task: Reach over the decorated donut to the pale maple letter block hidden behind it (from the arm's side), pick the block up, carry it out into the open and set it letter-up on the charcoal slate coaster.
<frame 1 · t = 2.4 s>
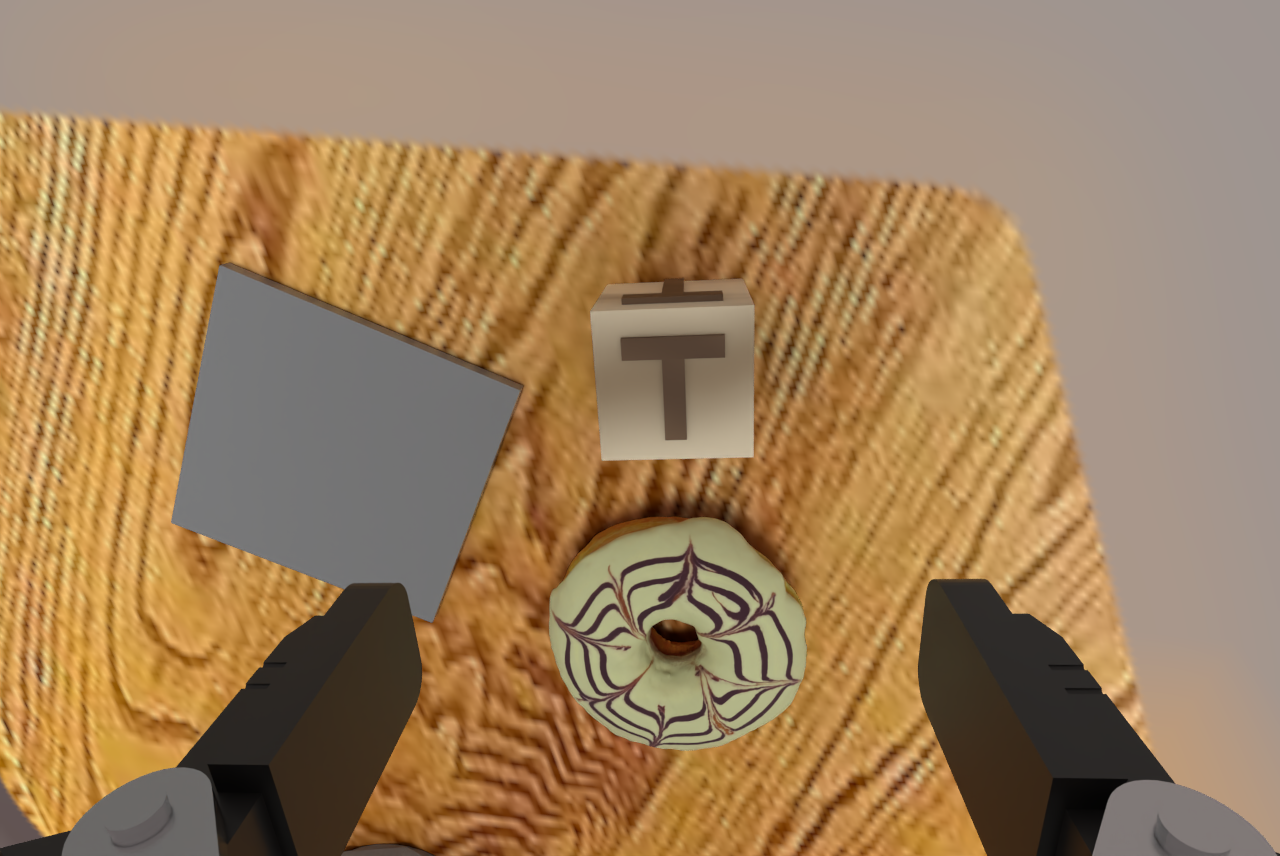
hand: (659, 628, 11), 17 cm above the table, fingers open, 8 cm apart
letter block: (676, 346, 27), on the table
slate coaster: (342, 454, 29), on the table
decorated donut: (677, 603, 32), on the table
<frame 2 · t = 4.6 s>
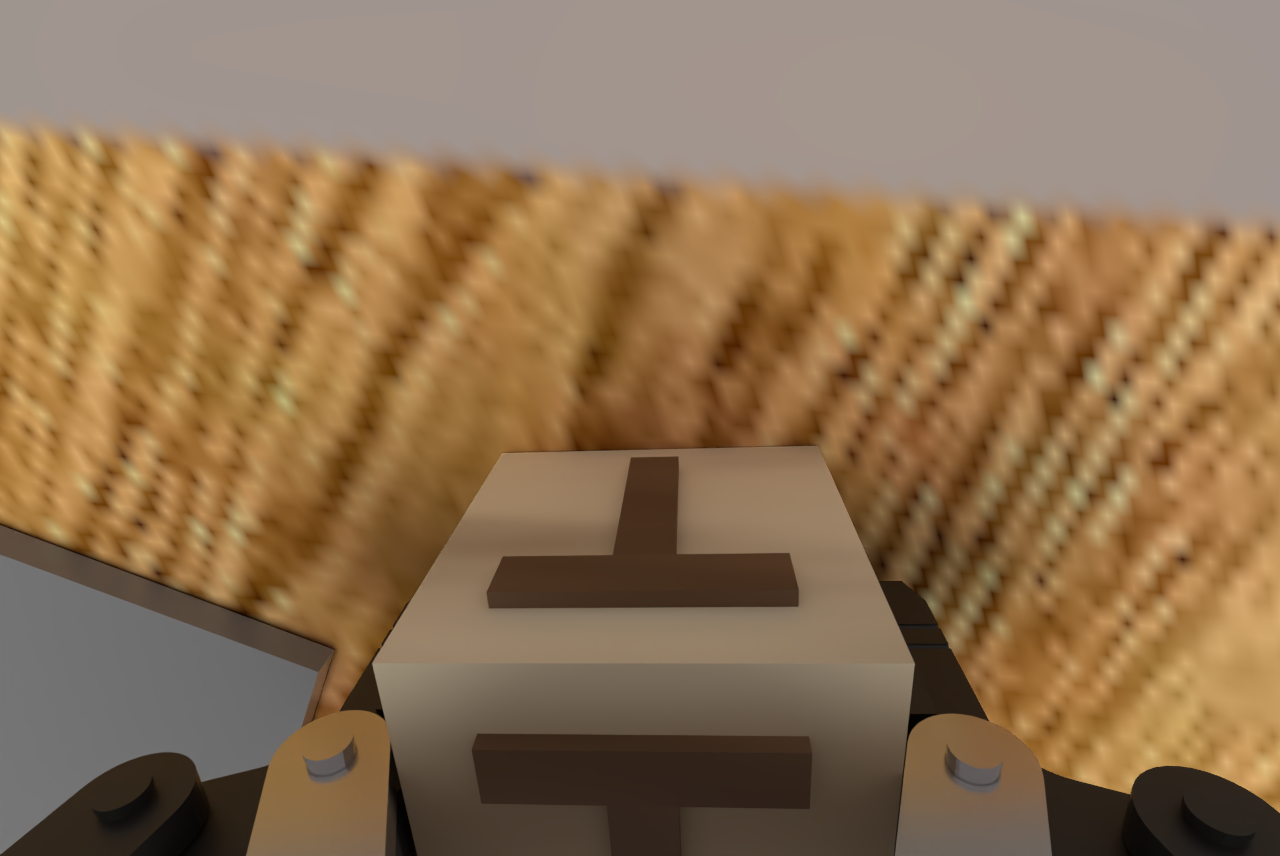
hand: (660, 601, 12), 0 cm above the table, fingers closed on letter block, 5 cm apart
letter block: (663, 583, 12), on the table, touching gripper
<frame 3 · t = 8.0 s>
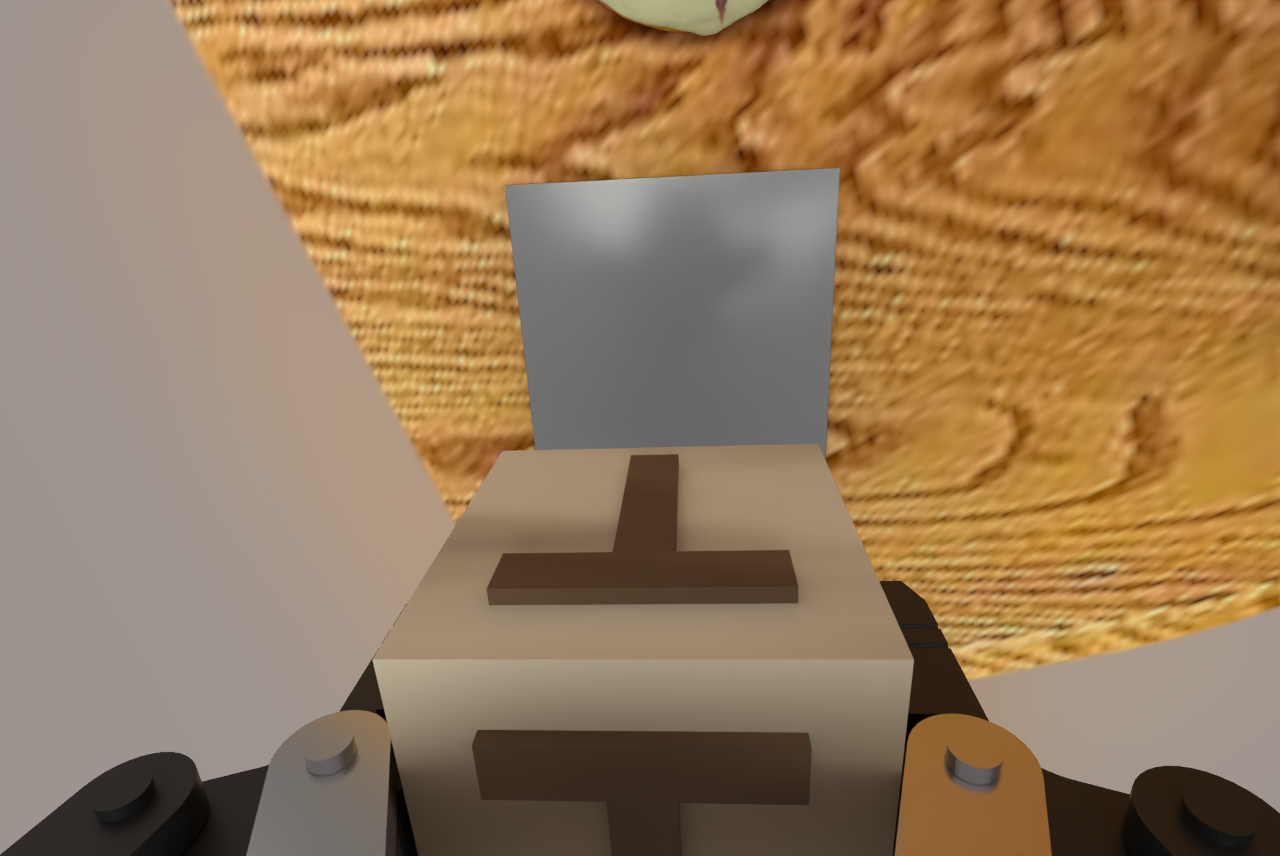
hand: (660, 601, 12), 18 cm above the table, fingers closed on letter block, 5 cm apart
letter block: (663, 581, 12), point 17 cm above the table, touching gripper
slate coaster: (675, 336, 28), on the table
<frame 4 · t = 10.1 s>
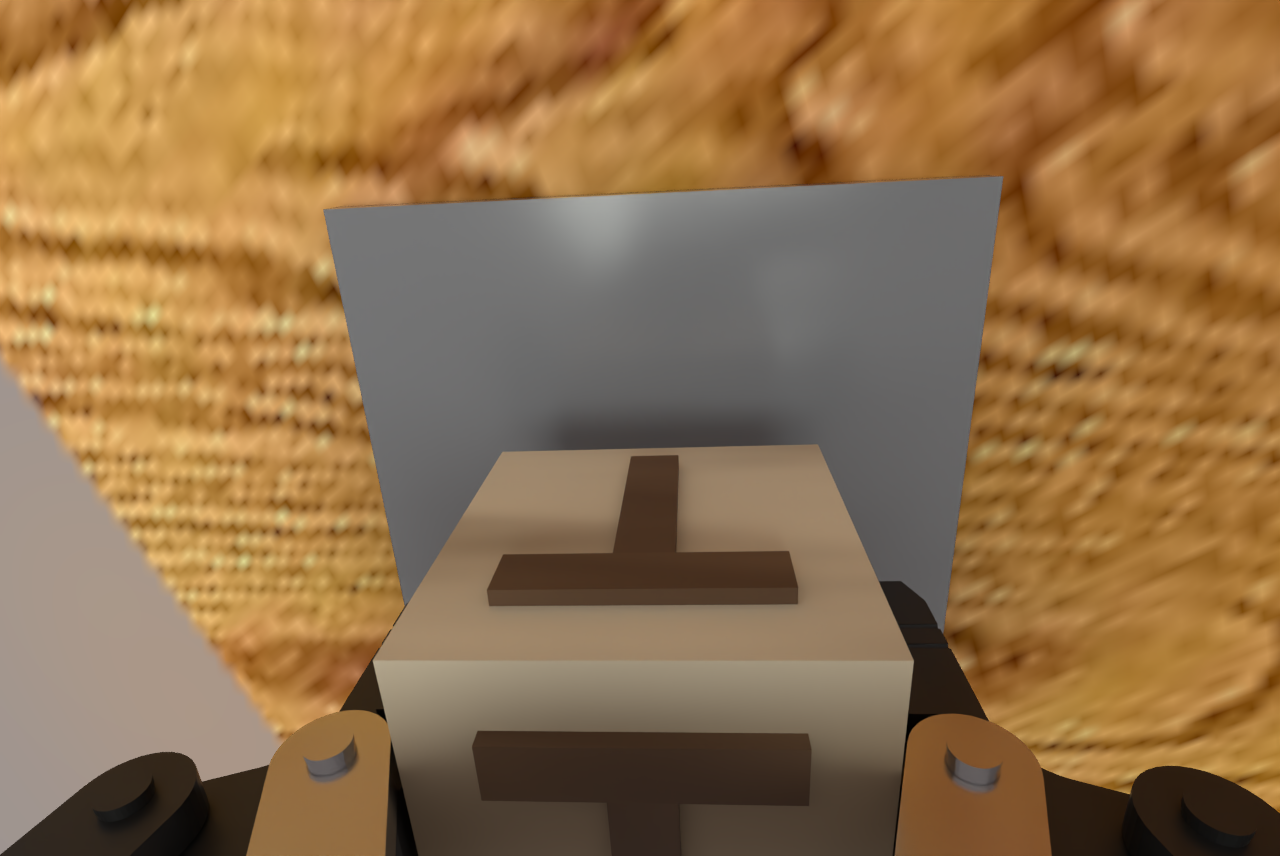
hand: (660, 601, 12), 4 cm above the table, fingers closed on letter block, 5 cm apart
letter block: (663, 582, 12), point 3 cm above the table, touching gripper
slate coaster: (664, 484, 15), on the table
when the fingers open (2 cm above the table, at t = 11.5 s): letter block stays where it is, resting on slate coaster.
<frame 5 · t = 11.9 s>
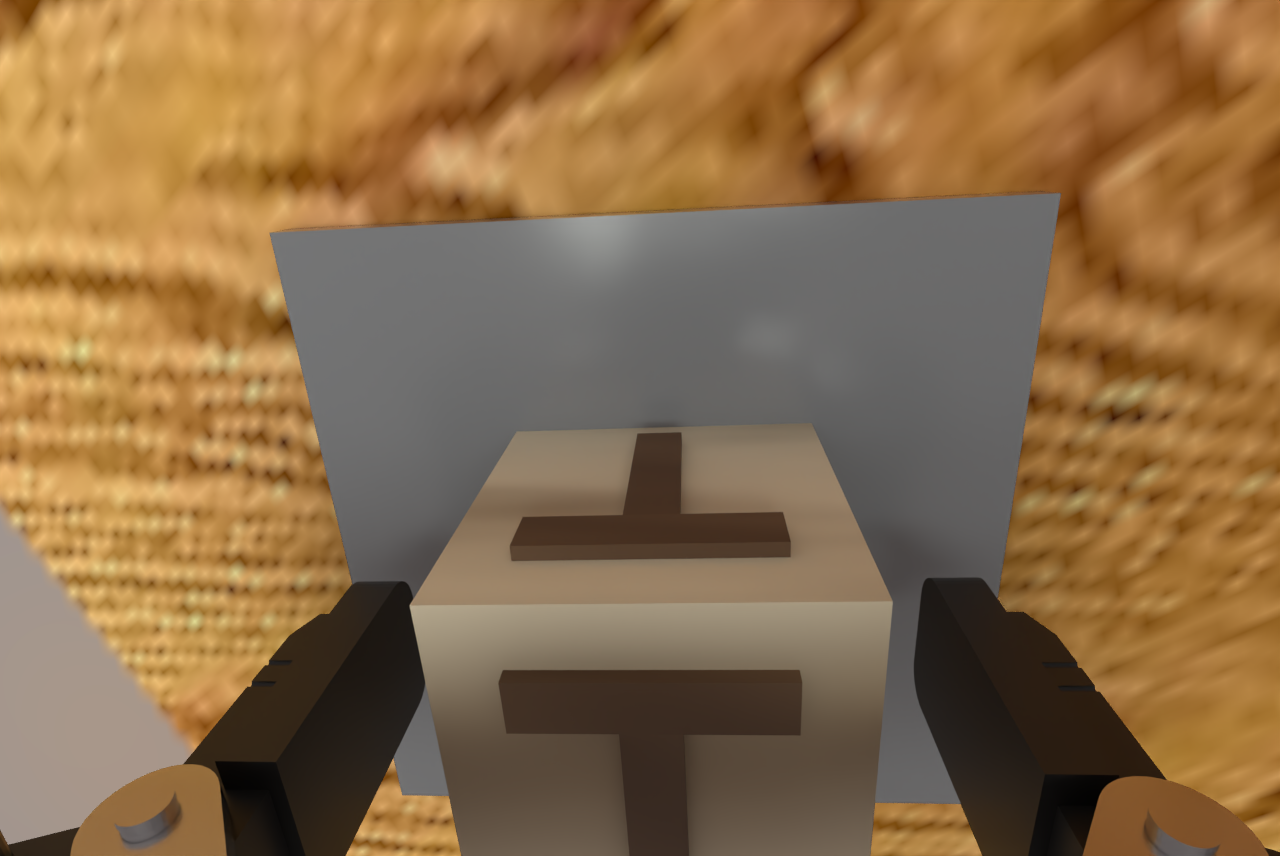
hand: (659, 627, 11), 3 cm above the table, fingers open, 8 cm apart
letter block: (667, 555, 13), point 1 cm above the table, touching slate coaster
slate coaster: (664, 539, 13), on the table
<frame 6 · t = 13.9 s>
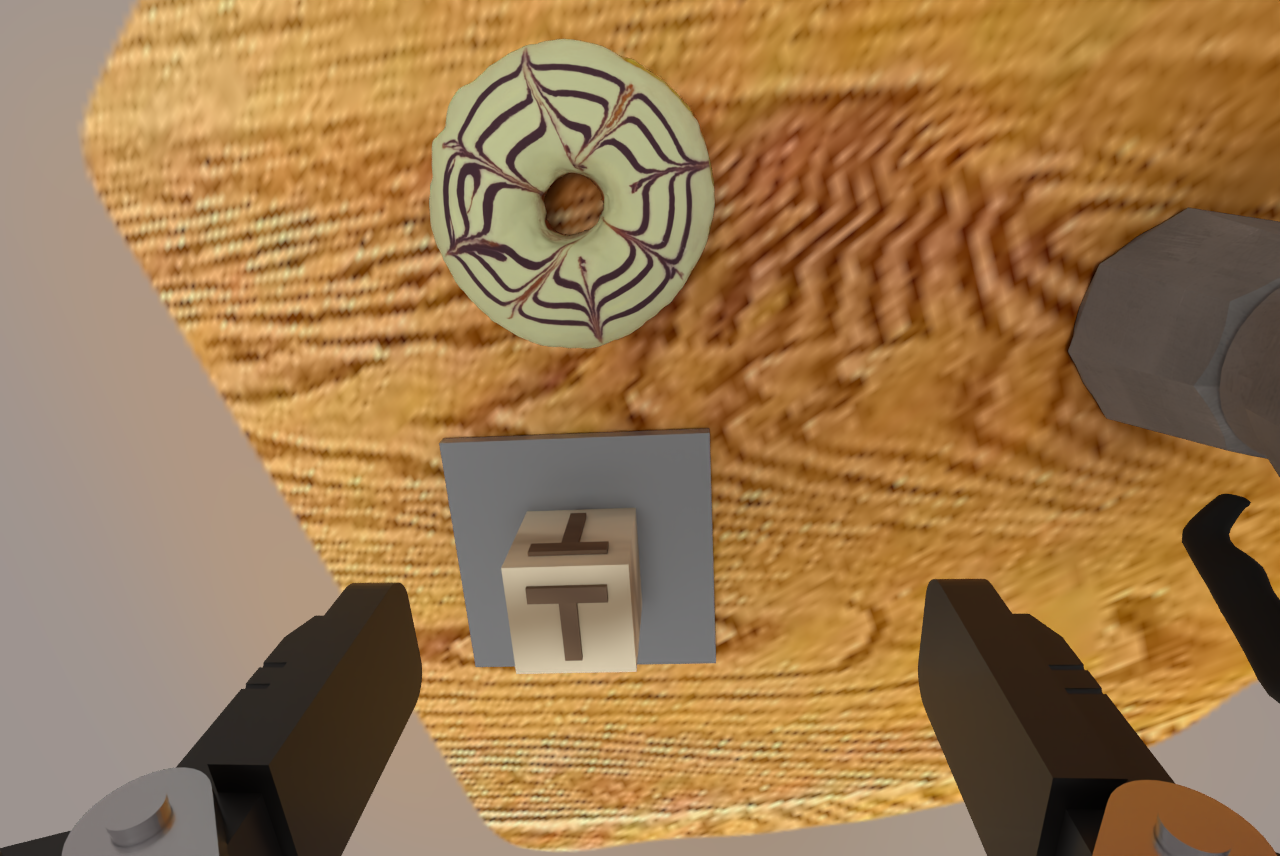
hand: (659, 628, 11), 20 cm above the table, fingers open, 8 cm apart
coffeepot: (1160, 344, 29), on the table
letter block: (585, 557, 33), point 1 cm above the table, touching slate coaster
slate coaster: (585, 552, 33), on the table
decorated donut: (578, 202, 29), on the table
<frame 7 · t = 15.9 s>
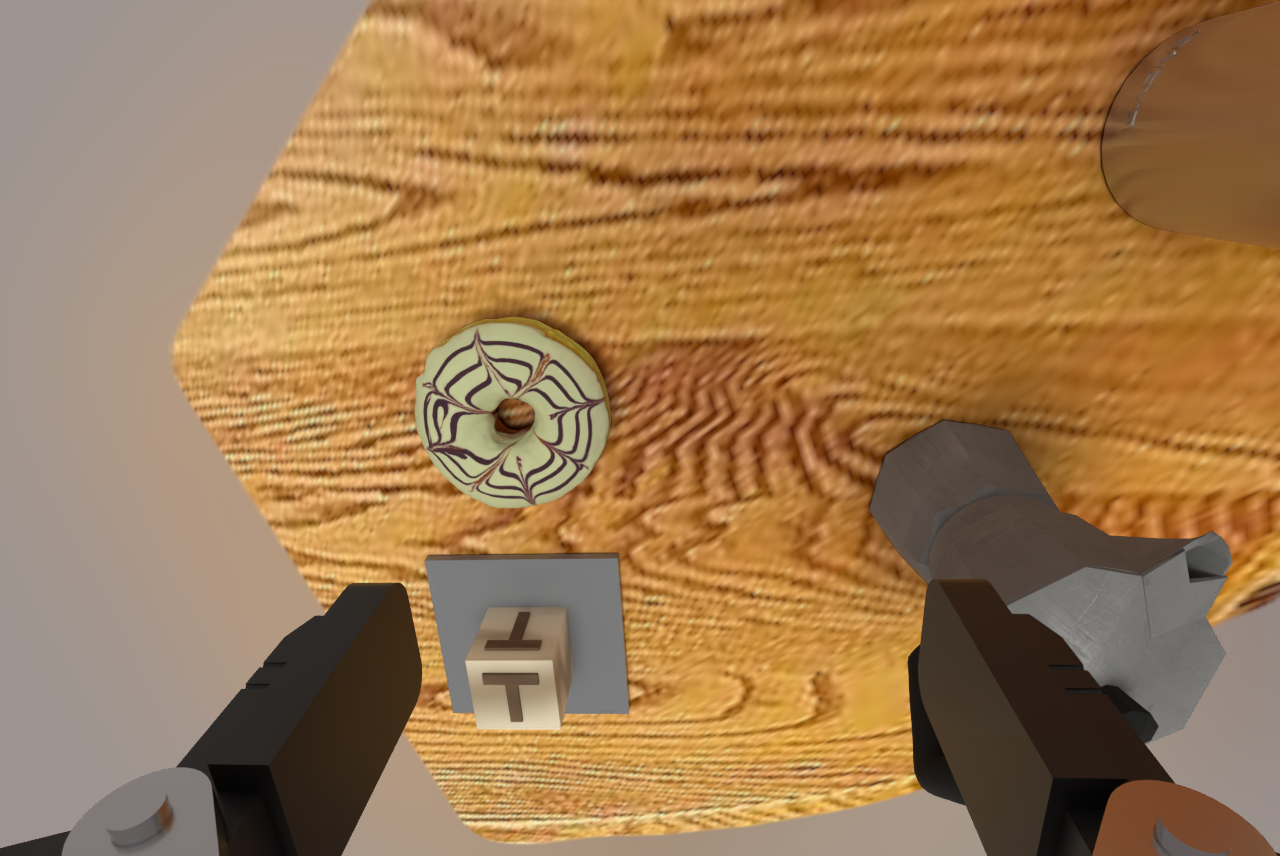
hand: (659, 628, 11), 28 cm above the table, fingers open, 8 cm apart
coffeepot: (936, 505, 41), on the table
letter block: (531, 639, 45), point 1 cm above the table, touching slate coaster
slate coaster: (532, 634, 46), on the table
decorated donut: (521, 402, 40), on the table
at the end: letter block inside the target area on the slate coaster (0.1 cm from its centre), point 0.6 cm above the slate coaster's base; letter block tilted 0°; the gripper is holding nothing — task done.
